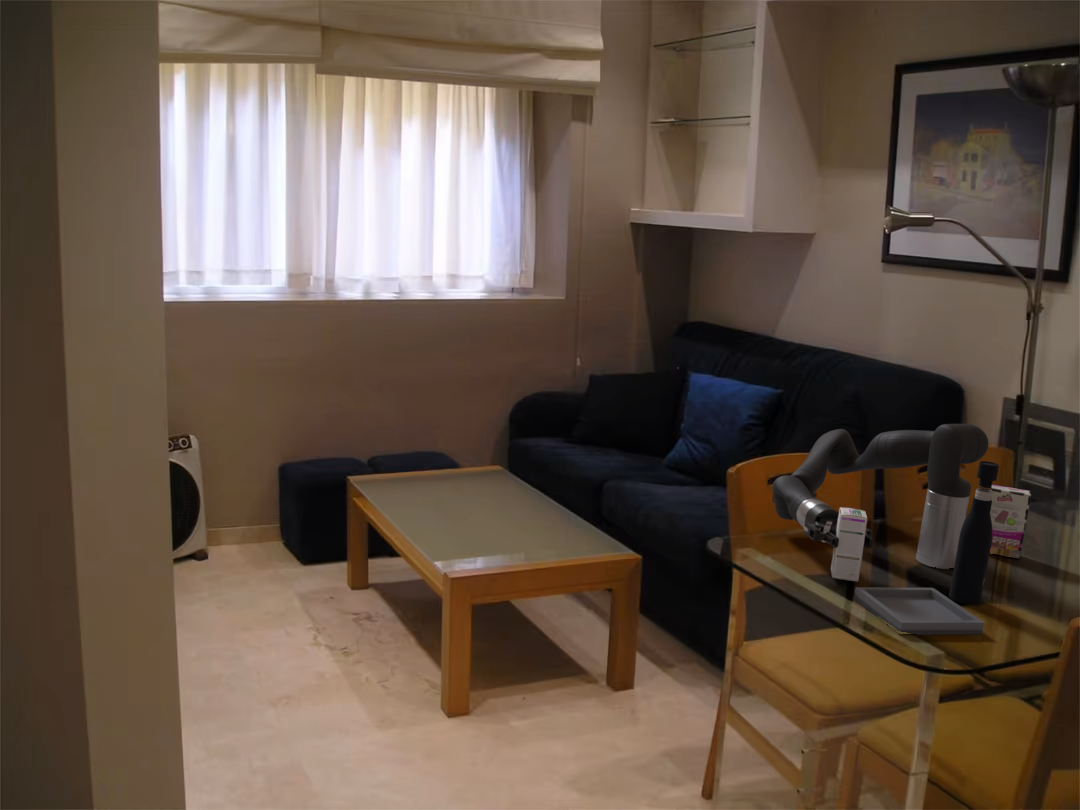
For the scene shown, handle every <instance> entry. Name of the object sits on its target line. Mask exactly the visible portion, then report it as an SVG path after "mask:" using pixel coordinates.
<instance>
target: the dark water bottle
mask: <svg viewBox="0 0 1080 810" xmlns="http://www.w3.org/2000/svg"><path fill="white" fill-rule="evenodd" d="M999 467H1000V465H999V464H998V463H996V462H992V461H988V460H987V461H985V460H979V463H978V468H977V474H976V477H977V478H978V479H979V482H978V485H977V486H978V487H977V488H976V490H975V494H974V497H973V498H972V503H971V504H972V505H971V509H970V510H969V512H968V514H967V515H966V519H965V521H964V523H963V526H962V528H961V531H960V537H959V542H958V548H957V553H956V559H955V564H954V569H953V571H952V577H951V582H950V589H949V594H948V598H949V599H950V600H952V601H953V602H957V603H960V604H964V605H969V606H970V605H971V606H975V605H976V606H977V605H980V604H981V602H982V595H983V592H984V591H983V590H984V585H985V580H986V575H987V570H988V564H989V560H990V555H991V554H990V549H991V543H992V522H991V516H990V511H991V505H992V500H991V498H992V497H991V495H992V491H990V490H991V489H992V485H993V482H996V481H997V480H998V475H999V469H1000V468H999Z"/></svg>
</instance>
